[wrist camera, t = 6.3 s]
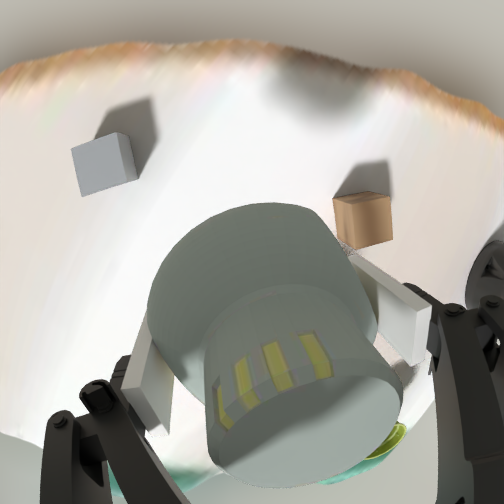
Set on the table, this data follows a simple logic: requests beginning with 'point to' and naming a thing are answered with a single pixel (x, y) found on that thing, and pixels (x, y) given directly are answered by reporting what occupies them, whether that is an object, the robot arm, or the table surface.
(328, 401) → the air freshener
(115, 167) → the grey block
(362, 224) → the walnut block
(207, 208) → the table surface
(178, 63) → the table surface
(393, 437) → the plant pot
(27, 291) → the table surface
